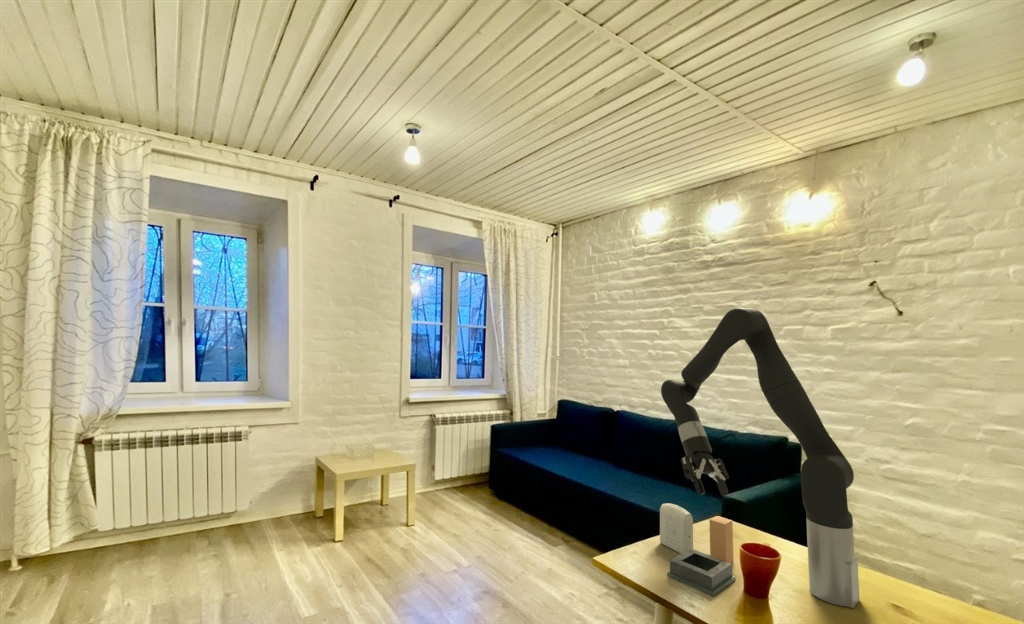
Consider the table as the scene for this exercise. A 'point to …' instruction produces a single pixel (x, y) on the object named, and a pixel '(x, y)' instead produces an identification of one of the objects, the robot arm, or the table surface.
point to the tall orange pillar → (721, 538)
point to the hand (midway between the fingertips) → (713, 494)
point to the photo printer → (676, 528)
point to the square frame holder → (701, 571)
